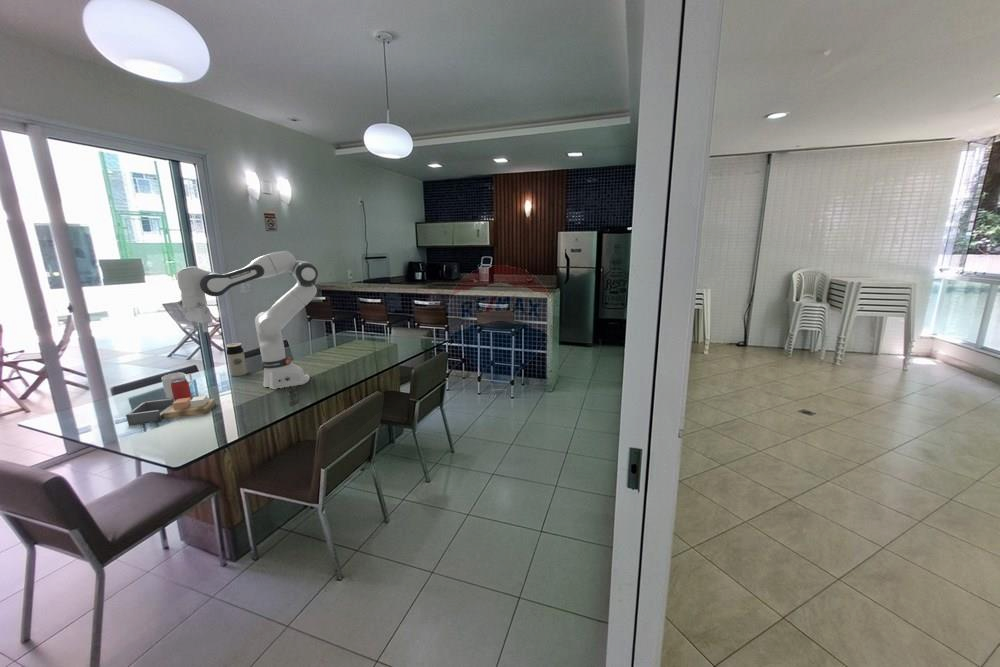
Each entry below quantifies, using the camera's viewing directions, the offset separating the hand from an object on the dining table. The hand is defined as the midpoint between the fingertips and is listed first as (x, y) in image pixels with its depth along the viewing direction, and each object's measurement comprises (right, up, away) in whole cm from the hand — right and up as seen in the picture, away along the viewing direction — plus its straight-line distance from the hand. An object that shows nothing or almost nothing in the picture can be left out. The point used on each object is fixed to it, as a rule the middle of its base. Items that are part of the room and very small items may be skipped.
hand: (201, 330), depth 182 cm
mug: (-20, -33, +13) cm, 41 cm away
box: (-13, -39, -10) cm, 42 cm away
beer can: (-10, -35, +3) cm, 37 cm away
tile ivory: (+4, -34, -6) cm, 35 cm away
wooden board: (0, -37, -6) cm, 38 cm away
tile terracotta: (-2, -35, -8) cm, 36 cm away
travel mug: (-10, -25, +42) cm, 50 cm away
